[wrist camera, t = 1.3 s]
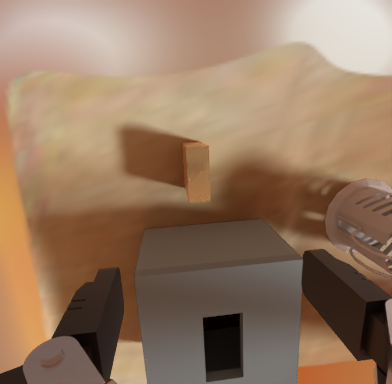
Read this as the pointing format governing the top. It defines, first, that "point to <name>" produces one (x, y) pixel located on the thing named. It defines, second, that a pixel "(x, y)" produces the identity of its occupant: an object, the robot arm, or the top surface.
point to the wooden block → (196, 171)
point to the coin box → (219, 304)
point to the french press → (362, 221)
